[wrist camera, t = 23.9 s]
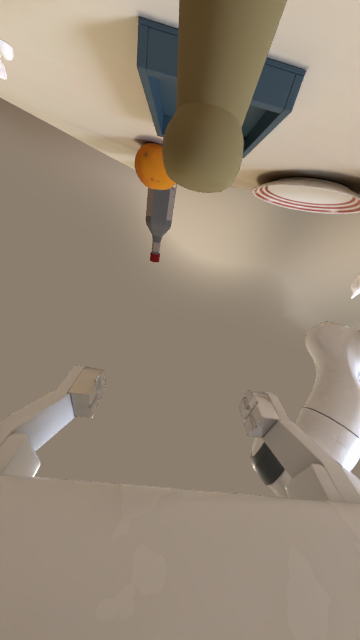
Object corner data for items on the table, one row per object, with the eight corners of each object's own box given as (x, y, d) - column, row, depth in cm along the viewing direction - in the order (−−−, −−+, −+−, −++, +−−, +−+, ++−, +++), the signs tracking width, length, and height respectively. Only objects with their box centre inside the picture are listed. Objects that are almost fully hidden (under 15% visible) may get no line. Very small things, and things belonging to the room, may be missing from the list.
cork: (161, -140, 7) (142, 179, 13) (284, -626, 3) (176, 171, 9) (254, -21, 10) (206, 199, 16) (388, -183, 6) (256, 200, 11)
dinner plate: (235, 173, 46) (231, 188, 48) (364, 165, 28) (350, 190, 30) (283, 198, 61) (279, 209, 63) (386, 203, 43) (376, 218, 45)
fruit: (171, 158, 46) (167, 195, 50) (131, 143, 41) (130, 184, 45) (190, 151, 38) (183, 195, 42) (143, 131, 33) (140, 182, 37)
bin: (306, 70, 15) (291, 111, 16) (249, 137, 27) (243, 158, 29) (138, 16, 14) (136, 66, 15) (159, 113, 26) (157, 135, 27)
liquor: (151, 167, 59) (144, 256, 74) (149, 160, 51) (142, 261, 66) (177, 174, 61) (165, 260, 76) (179, 168, 53) (165, 265, 68)
